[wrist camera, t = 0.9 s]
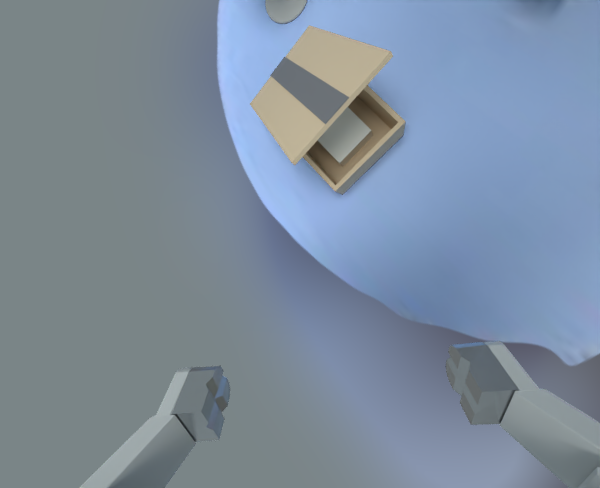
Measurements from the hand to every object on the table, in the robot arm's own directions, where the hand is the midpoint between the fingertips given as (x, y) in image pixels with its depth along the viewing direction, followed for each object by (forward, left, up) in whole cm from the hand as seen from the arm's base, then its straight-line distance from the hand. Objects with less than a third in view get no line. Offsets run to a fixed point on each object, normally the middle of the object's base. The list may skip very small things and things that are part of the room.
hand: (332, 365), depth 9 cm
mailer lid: (-20, -9, -22) cm, 31 cm away
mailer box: (-19, -8, -33) cm, 39 cm away
